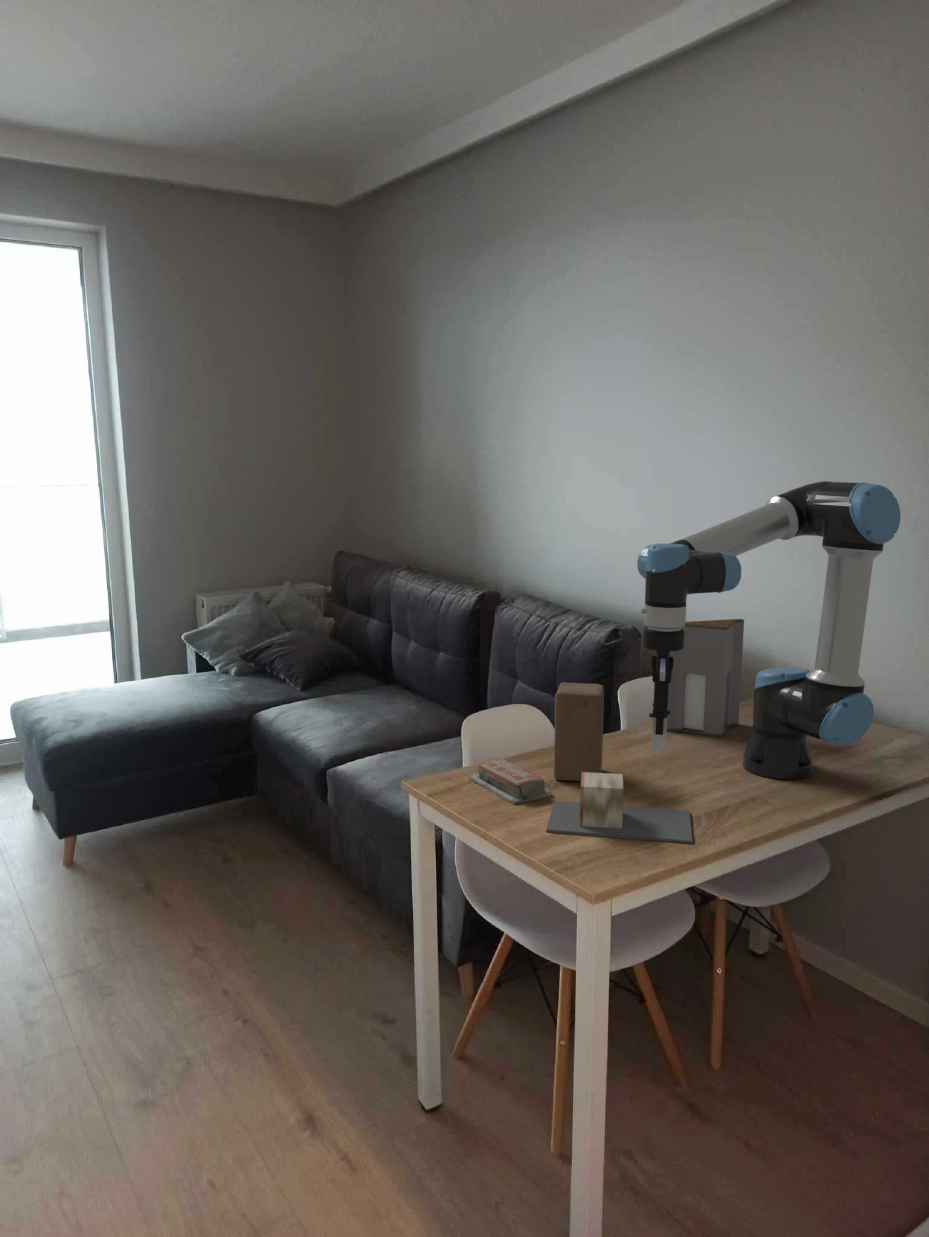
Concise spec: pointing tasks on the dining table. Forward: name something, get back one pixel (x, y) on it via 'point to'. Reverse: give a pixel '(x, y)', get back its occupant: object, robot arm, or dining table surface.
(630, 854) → the dining table surface
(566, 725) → the wooden block
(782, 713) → the robot arm
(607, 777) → the cube
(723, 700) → the cabinet
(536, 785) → the packaged product
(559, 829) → the rubber mat
